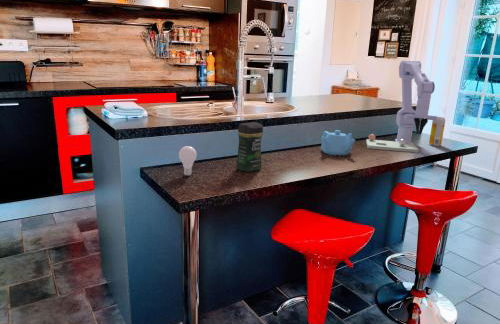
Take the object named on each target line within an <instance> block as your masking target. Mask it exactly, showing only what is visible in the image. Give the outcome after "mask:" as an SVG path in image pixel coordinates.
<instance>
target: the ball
mask: <svg viewBox="0 0 500 324" xmlns="http://www.w3.org/2000/svg"><path fill="white" fill-rule="evenodd" d="M368 139H369V140H371V141H373V140H376V134H374V133H370V134H369V135H368Z"/></svg>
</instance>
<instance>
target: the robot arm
mask: <svg viewBox="0 0 500 324" xmlns="http://www.w3.org/2000/svg"><path fill="white" fill-rule="evenodd" d="M421 69H422V62H421V61H420V60H404V59H403V60H401V61H400V63H399V66H398V75H399V76H398V78H400V79H401V103H402V104H401V105H402V107H401V109H399V110H398V111H397V112H396V117H395V123H396V125H397V126H398V129H397V136H396V138H394V141H395V142H399V140H401V139H404V140H405V141H406V142H407V143H413V142H412V136H413V129H414V128H415V130H416V131H415V133H416V135H421V134H422V132H423V129H424V128H425V126H426V125H427V124H428V122H429V121H433V120H436V121H437V118H438V117H439V116H437V115H429V110H430V105H431V104H430V103H431V99H432V94H433V93H434V92H435V88H436V86H435V85H436V83H435V82H434V81H431V80H429V78H428V76H427V74H425V72H424V73H423V72H422V70H421ZM412 80H414V83H415V84H416V86H417V87H416V91H417V92H416V93H417V94H416V95H417V101H416V107H415V109H413V94H412V93H413V89H412V87H413V84H412V82H413V81H412Z"/></svg>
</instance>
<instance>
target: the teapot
mask: <svg viewBox="0 0 500 324" xmlns="http://www.w3.org/2000/svg"><path fill="white" fill-rule="evenodd" d="M341 132H342V131H341V130H338V129H335V130H334V132H330V131H327V130H325V131H323V133H322V135H321V136H320V140H321V146H320V150H321V151H322V152H323V153H325V154H326V155H331V156H336V155H339V157H341V155H343V156H347V155H349V154H350V153H351V151H352V147H353V146H354V143H355V142H356V139H354V138H353V133H350V132H349V133H348V134H346V133H343V132H342V133H341Z"/></svg>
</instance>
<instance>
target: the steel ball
mask: <svg viewBox="0 0 500 324" xmlns="http://www.w3.org/2000/svg"><path fill="white" fill-rule="evenodd" d="M405 144H406V141H405V140H404V139H401V140H399V145H401V146H404V145H405Z"/></svg>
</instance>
